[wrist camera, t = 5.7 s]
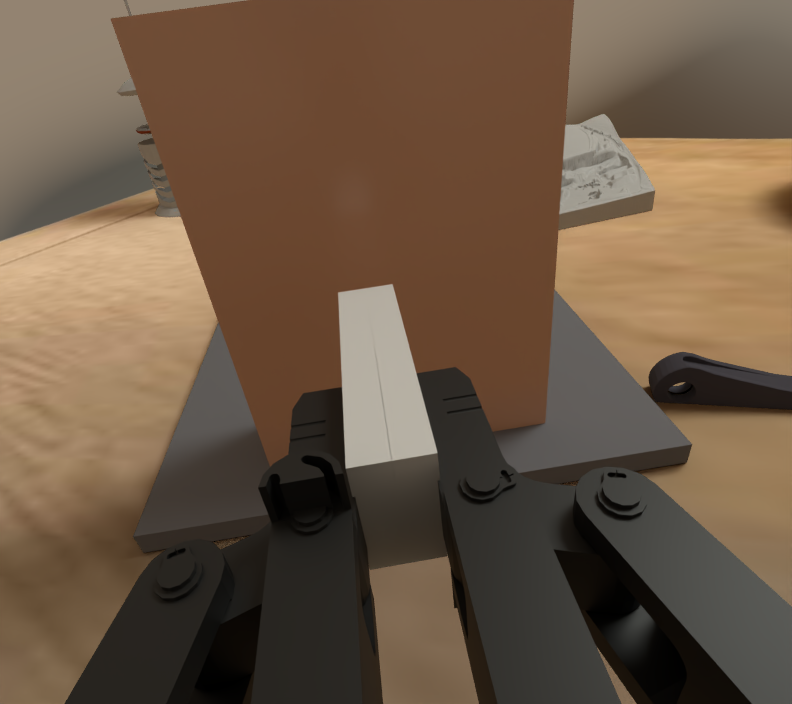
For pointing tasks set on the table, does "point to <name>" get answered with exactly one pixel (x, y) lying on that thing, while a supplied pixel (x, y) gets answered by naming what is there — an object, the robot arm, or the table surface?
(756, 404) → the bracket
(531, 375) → the tile
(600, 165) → the ramp
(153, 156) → the french press
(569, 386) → the mat
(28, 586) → the table surface
